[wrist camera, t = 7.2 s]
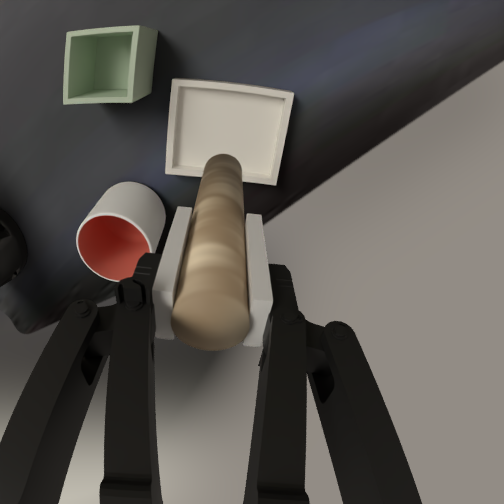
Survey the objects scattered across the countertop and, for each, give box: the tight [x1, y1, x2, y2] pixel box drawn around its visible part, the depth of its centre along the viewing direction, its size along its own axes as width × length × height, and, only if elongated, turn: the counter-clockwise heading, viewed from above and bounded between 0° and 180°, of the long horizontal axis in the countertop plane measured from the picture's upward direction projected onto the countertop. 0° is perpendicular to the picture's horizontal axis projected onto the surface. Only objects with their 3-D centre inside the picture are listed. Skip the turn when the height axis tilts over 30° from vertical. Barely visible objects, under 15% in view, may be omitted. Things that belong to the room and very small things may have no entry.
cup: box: [76, 182, 166, 282], centre depth 40 cm, size 10×10×10 cm
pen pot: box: [63, 26, 158, 104], centre depth 28 cm, size 8×8×8 cm
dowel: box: [170, 154, 250, 351], centre depth 18 cm, size 3×3×16 cm
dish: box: [165, 78, 294, 185], centre depth 37 cm, size 14×12×2 cm
